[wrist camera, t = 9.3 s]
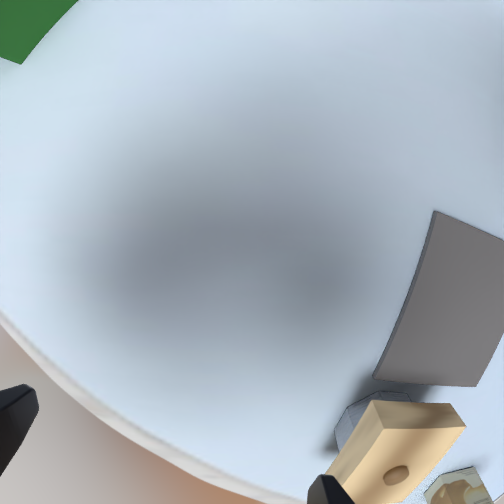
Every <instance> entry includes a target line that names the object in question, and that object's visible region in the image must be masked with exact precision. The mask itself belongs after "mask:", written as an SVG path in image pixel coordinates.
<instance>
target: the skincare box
mask: <svg viewBox="0 0 504 504" xmlns="http://www.w3.org/2000/svg"><path fill="white" fill-rule="evenodd" d="M424 496H425V499H426V501H427V504H494V503H493V501H492V499H491V497H490V495H489V493H488V491H487V490H486V488H485V486H484V484H483V482H482V480H481V478H480V476H479V474H478V473H477V471H476V469H475V467H472V468H468V469H464V470H460V471H455V472H451V473H447V474H443V475H440V476H439V477H438V478H437V479H436V481H435V482H434V483H433V484H432V485H431V486H430V487H429V489H428V490H427V491H426V492H425V493H424Z"/></svg>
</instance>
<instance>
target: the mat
mask: <svg viewBox="0 0 504 504" xmlns="http://www.w3.org/2000/svg"><path fill="white" fill-rule="evenodd" d="M503 333H504V241H503V240H501V239H499V238H496V237H494V236H492V235H490V234H488V233H486V232H484V231H481V230H479V229H477V228H475V227H472V226H470V225H468V224H466V223H463V222H461V221H459V220H456V219H454V218H451V217H449V216H447V215H444V214H442V213H439V212H436V211H434V213H433V217H432V220H431V224H430V228H429V231H428V235H427V238H426V241H425V245H424V248H423V251H422V254H421V258H420V261H419V264H418V267H417V270H416V273H415V276H414V278H413V281H412V284H411V287H410V290H409V292H408V295H407V298H406V300H405V303H404V306H403V308H402V311H401V313H400V316H399V318H398V320H397V323H396V325H395V328H394V330H393V332H392V335H391V337H390V339H389V342H388V344H387V346H386V348H385V350H384V353H383V355H382V357H381V359H380V361H379V363H378V365H377V367H376V369H375V371H374V374H373V377H374V379H376V380H384V381H393V382H403V383H414V384H426V385H441V386H461V387H476V386H477V384H478V382H479V380H480V379H481V377H482V375H483V373H484V371H485V369H486V368H487V366H488V364H489V362H490V360H491V358H492V356H493V354H494V352H495V350H496V348H497V346H498V344H499V342H500V339H501V337H502V335H503Z"/></svg>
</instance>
